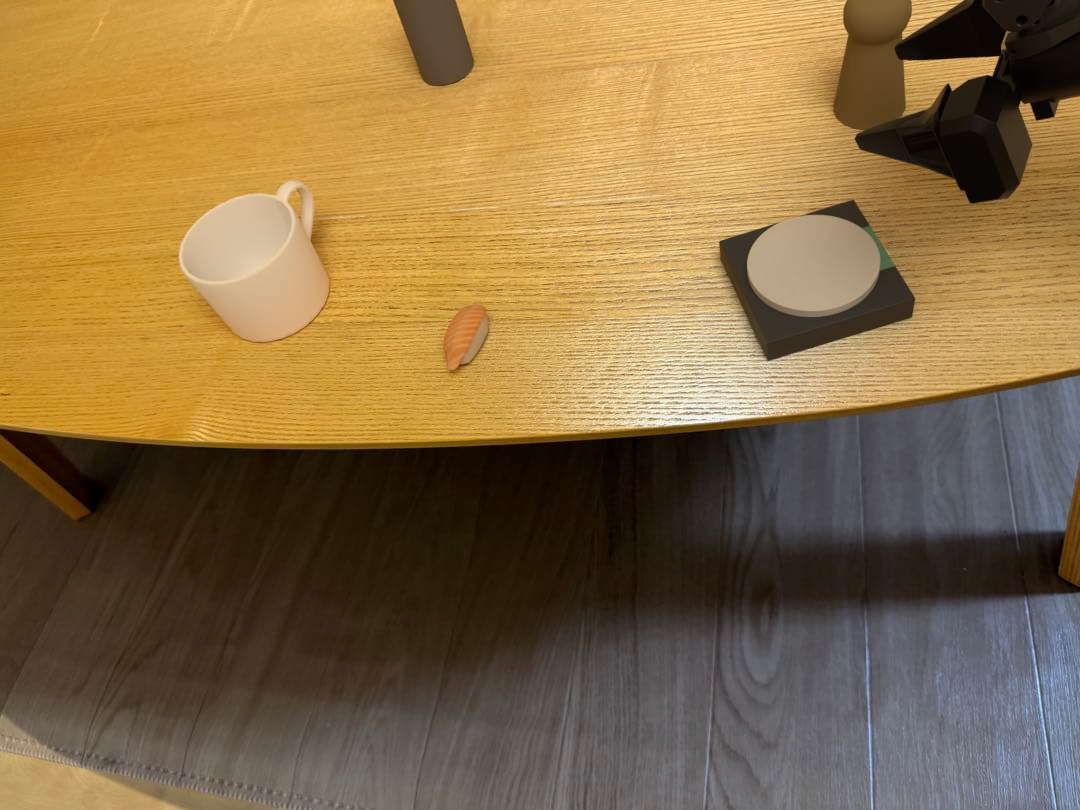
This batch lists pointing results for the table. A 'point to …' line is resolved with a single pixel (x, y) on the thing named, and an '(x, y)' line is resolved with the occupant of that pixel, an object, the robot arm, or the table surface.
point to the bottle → (436, 39)
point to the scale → (815, 280)
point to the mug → (258, 263)
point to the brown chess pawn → (872, 63)
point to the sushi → (465, 335)
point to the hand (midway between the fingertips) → (877, 95)
